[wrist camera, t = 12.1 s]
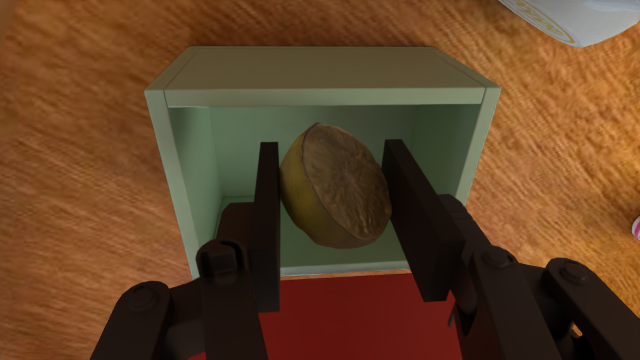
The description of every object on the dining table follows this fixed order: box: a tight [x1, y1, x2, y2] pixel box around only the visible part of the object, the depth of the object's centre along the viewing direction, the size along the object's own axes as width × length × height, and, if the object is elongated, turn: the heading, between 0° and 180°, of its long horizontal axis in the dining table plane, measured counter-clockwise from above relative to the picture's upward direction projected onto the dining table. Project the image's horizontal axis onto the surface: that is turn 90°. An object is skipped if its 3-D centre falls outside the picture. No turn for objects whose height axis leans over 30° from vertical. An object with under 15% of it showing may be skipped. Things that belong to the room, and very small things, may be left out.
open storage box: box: [144, 46, 502, 280], centre depth 22 cm, size 12×16×8 cm
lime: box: [278, 122, 392, 249], centre depth 14 cm, size 4×5×5 cm
